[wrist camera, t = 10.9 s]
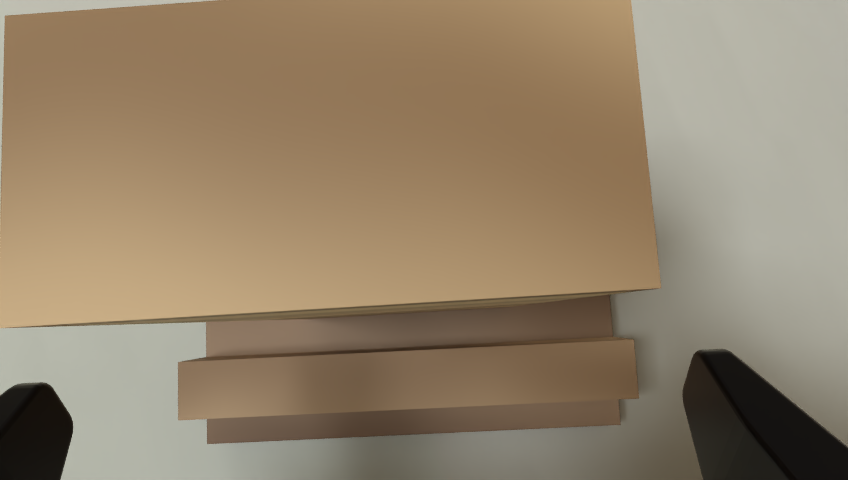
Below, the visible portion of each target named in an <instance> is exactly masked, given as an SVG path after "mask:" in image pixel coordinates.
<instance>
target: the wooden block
mask: <svg viewBox="0 0 848 480" xmlns="http://www.w3.org/2000/svg"><path fill="white" fill-rule="evenodd" d="M657 288H661V282H660V272H659V263H658V253H657V244H656V234H655V225H654V215H653V206H652V196H651V187H650V177H649V168H648V158H647V149H646V139H645V130H644V120H643V111H642V101H641V92H640V82H639V73H638V63H637V54H636V44H635V35H634V25H633V16H632V6H631V0H218V1H204V2H190V3H176V4H162V5H148V6H134V7H120V8H106V9H93V10H79V11H65V12H51V13H37V14H23V15H9V16H5V34H4V78H3V122H2V166H1V210H0V328H19V327H53V326H87V325H121V324H154V323H188V322H222V321H256V320H290V319H315V318H332V317H348V316H365V315H382V314H398V313H415V312H431V311H448V310H465V309H481V308H498V307H511V306H520V305H528V304H536V303H544V302H552V301H560V300H568V299H576V298H584V297H593V296H601V295H609V294H617V293H625V292H633V291H641V290H649V289H657Z"/></svg>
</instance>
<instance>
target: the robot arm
mask: <svg viewBox="0 0 848 480" xmlns="http://www.w3.org/2000/svg"><path fill="white" fill-rule="evenodd" d="M683 403H684V408H685V412H686V415H687V419H688V423H689V427H690V431H691V435H692V438H693V442H694V446H695V450H696V454H697V458H698V461H699V465H700V469H701V473H702V477H703V480H848V447H847V446H846V445H845V444H843V443H842V442H841V441H840V440H838V439H837V438H836V437H835V436H834V435H832V434H831V433H830V432H829V431H827V430H826V429H825V428H824V427H823V426H821V425H820V424H819V423H818V422H816V421H815V420H814V419H813V418H811V417H810V416H809V415H808V414H807V413H805V412H804V411H803V410H802V409H800V408H799V407H798V406H797V405H796V404H794V403H793V402H792V401H791V400H789V399H788V398H787V397H786V396H785V395H783V394H782V393H781V392H780V391H778V390H777V389H776V388H775V387H773V386H772V385H771V384H770V383H769V382H767V381H766V380H765V379H764V378H762V377H761V376H760V375H759V374H758V373H756V372H755V371H754V370H753V369H751V368H750V367H749V366H748V365H746V364H745V363H744V362H743V361H742V360H740V359H739V358H738V357H737V356H735V355H734V354H733V353H731V352H730V351H728V350H725V349H713V350H699V351H697V352H696V353H695V354H694V355H693V358H692V360H691V364H690V367H689V370H688V374H687V377H686V380H685V384H684V387H683ZM72 434H73V421H72V418H71V416H70V414H69V412H68V411H67V409H66V408H65V406H64V405H63V403H62V402H61V400H60V398H59V397H58V395H57V394H56V392H55V391H54V389H53V388H52V387H51V386H50V385H49V384H47V383H43V382H40V383H22V384H17V385H14V386H12V387H11V388H9V389H8V390H7V391H5V392H4V393H3V394H2V395H0V480H60V479H61V475H62V472H63V468H64V464H65V461H66V457H67V453H68V449H69V446H70V442H71V438H72Z"/></svg>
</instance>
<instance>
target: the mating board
mask: <svg viewBox="0 0 848 480" xmlns="http://www.w3.org/2000/svg"><path fill="white" fill-rule="evenodd" d="M637 398H639V392H638V381H637V370H636V359H635V348H634V340H633V339H626V338H618V337H613V331H612V319H611V308H610V296H609V295H601V296H593V297H584V298H576V299H568V300H560V301H552V302H544V303H536V304H528V305H520V306H511V307H498V308H481V309H465V310H448V311H431V312H415V313H398V314H382V315H365V316H348V317H332V318H315V319H290V320H256V321H222V322H206V357H204V358H199V359H193V360H188V361H182V362H178V420H195V419H207V444H217V443H239V442H260V441H282V440H303V439H325V438H346V437H368V436H389V435H411V434H432V433H454V432H475V431H497V430H518V429H540V428H561V427H583V426H604V425H621V424H620V412H619V401H618V399H637Z"/></svg>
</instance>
